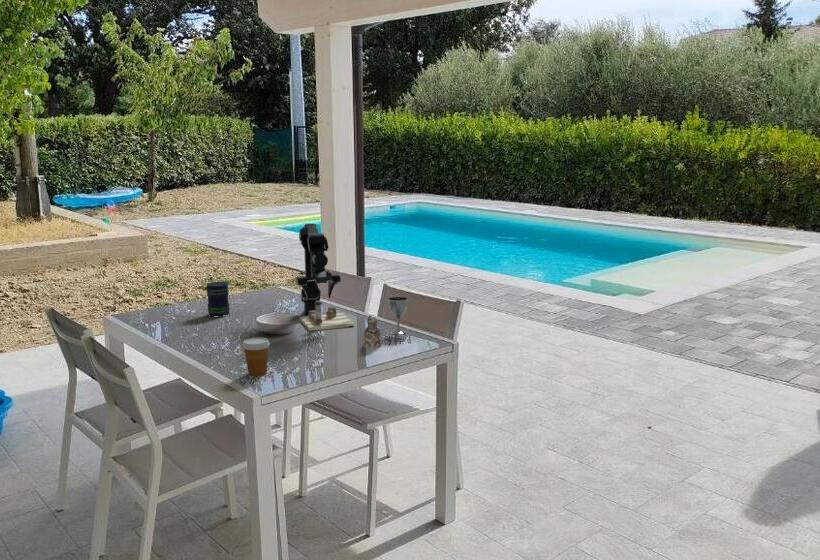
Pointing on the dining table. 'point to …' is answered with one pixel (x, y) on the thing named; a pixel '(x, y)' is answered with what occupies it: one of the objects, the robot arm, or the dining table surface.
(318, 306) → the lever
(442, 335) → the dining table surface
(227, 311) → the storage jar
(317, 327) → the nutcracker base
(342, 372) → the dining table surface
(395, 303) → the wine glass
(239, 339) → the dining table surface
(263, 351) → the disposable coffee cup
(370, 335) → the figurine
